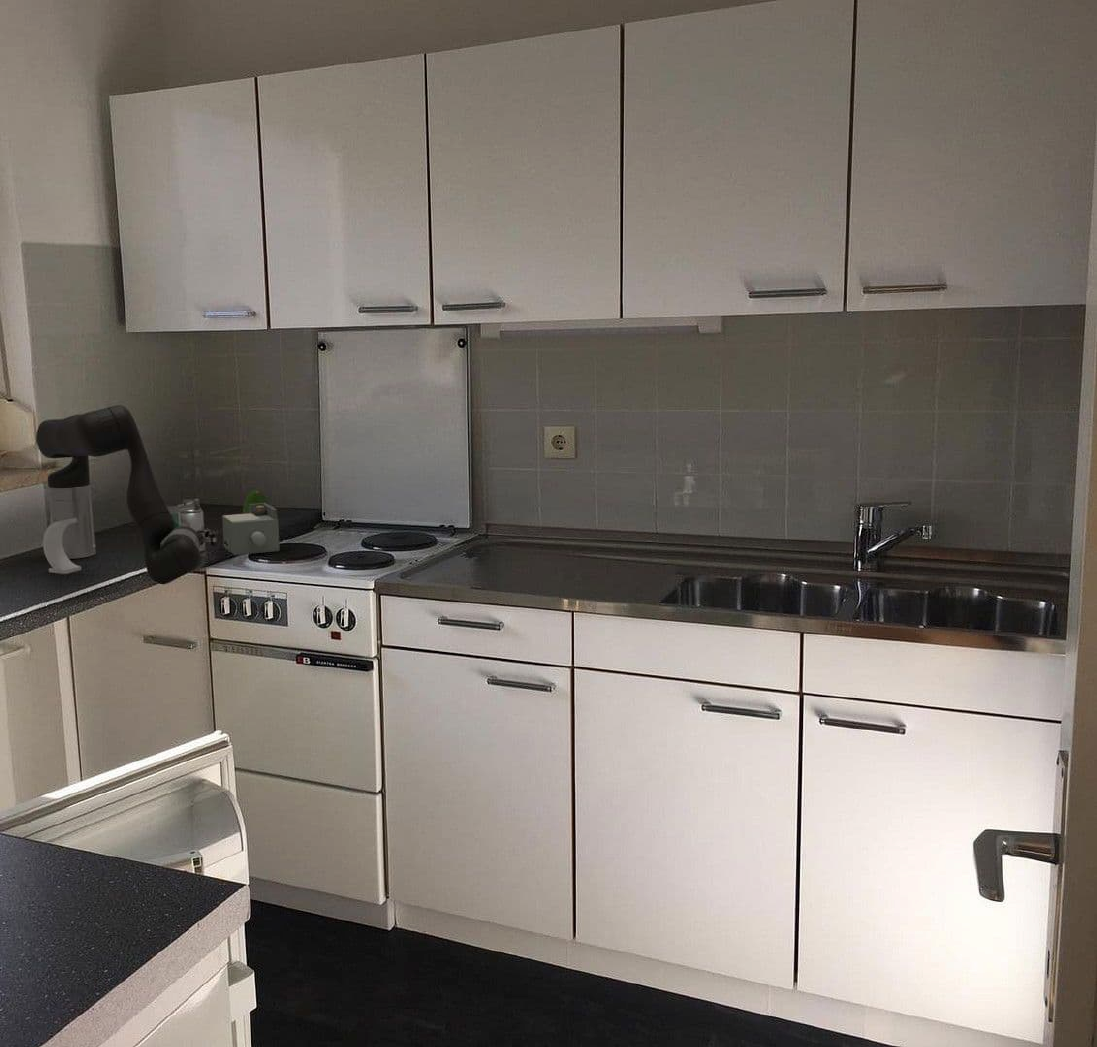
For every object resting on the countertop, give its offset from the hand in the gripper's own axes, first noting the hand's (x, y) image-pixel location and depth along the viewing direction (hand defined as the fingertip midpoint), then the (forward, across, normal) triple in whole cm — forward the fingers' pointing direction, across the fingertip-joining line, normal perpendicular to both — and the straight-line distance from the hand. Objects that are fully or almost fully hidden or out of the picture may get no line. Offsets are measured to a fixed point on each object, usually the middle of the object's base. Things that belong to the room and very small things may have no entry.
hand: (187, 533), depth 244 cm
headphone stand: (+3, +28, +8) cm, 29 cm away
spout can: (+12, 0, +8) cm, 14 cm away
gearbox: (+16, -14, +8) cm, 23 cm away
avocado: (+38, -15, +8) cm, 41 cm away
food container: (+33, +3, +8) cm, 34 cm away
